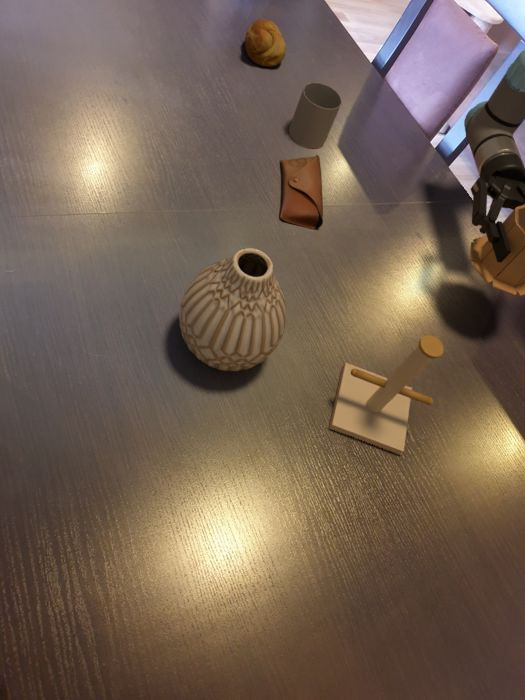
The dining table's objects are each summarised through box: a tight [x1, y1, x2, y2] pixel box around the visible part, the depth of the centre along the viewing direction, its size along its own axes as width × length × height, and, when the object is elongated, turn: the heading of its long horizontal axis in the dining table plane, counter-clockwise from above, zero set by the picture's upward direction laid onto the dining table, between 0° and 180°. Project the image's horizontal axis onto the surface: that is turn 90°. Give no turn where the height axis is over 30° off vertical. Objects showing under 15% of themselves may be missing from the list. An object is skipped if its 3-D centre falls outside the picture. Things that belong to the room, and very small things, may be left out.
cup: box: [288, 82, 343, 150], centre depth 120 cm, size 8×8×10 cm
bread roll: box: [244, 19, 287, 68], centre depth 133 cm, size 13×10×8 cm
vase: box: [178, 247, 287, 372], centre depth 82 cm, size 16×16×20 cm
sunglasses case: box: [279, 154, 324, 230], centre depth 112 cm, size 18×7×7 cm, turn 0°
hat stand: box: [328, 334, 445, 456], centre depth 83 cm, size 13×12×20 cm
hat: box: [469, 204, 525, 297], centre depth 95 cm, size 13×13×10 cm
